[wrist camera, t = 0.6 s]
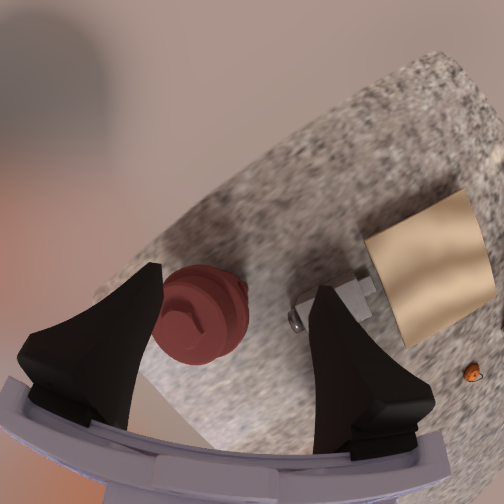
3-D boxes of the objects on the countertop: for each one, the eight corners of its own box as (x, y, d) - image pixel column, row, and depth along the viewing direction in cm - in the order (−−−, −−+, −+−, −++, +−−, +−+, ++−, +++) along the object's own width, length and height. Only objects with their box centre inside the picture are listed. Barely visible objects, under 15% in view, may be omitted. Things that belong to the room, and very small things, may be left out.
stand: (488, 290, 27) (496, 295, 25) (401, 340, 31) (406, 348, 28) (455, 189, 27) (464, 188, 25) (361, 239, 31) (364, 241, 28)
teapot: (469, 382, 29) (476, 391, 26) (459, 375, 29) (465, 384, 26) (481, 366, 28) (488, 375, 25) (471, 359, 28) (478, 367, 26)
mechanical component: (178, 272, 37) (243, 243, 34) (209, 339, 37) (276, 317, 35) (119, 295, 25) (201, 257, 23) (163, 384, 26) (250, 366, 23)
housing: (378, 297, 31) (385, 309, 27) (302, 331, 34) (298, 347, 30) (364, 264, 31) (370, 271, 27) (286, 300, 34) (281, 312, 30)
